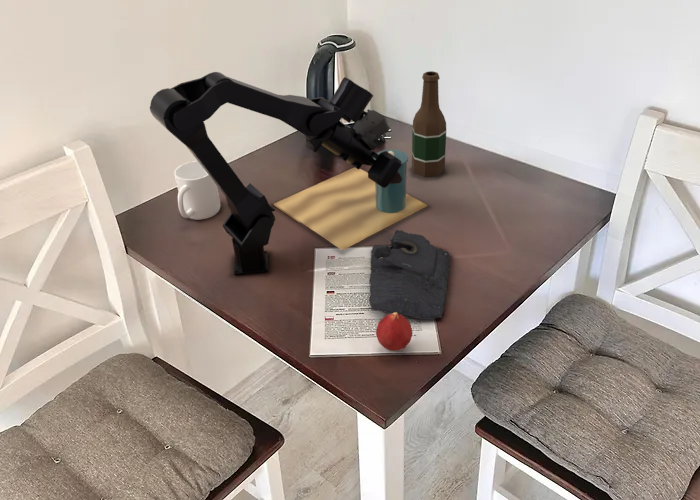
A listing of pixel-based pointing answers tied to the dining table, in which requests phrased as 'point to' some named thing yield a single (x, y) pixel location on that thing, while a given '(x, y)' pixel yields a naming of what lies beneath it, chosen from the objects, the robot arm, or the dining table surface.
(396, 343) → the onion
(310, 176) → the dining table surface
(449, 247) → the dining table surface
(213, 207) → the cup
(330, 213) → the mat
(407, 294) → the dark slate chunk
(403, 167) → the pot
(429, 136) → the beer bottle
